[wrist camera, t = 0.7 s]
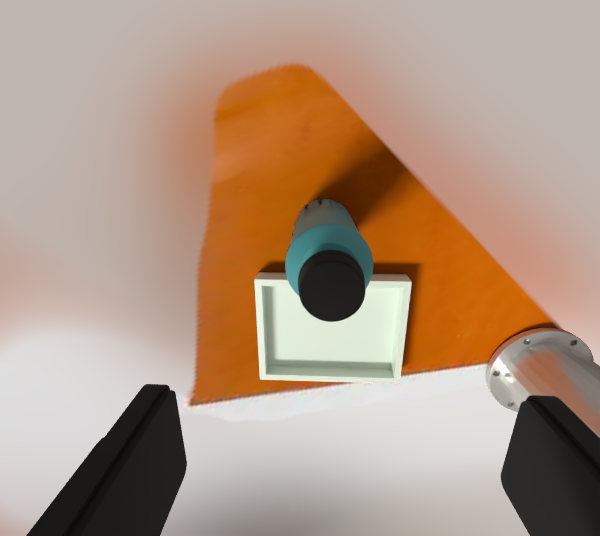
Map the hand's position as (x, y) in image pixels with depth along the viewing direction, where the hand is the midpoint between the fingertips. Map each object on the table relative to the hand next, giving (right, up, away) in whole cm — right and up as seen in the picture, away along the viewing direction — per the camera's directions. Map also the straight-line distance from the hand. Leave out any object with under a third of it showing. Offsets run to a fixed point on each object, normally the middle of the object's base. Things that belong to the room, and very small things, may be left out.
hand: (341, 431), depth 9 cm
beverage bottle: (+2, +10, +28) cm, 30 cm away
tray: (+3, -3, +32) cm, 32 cm away
